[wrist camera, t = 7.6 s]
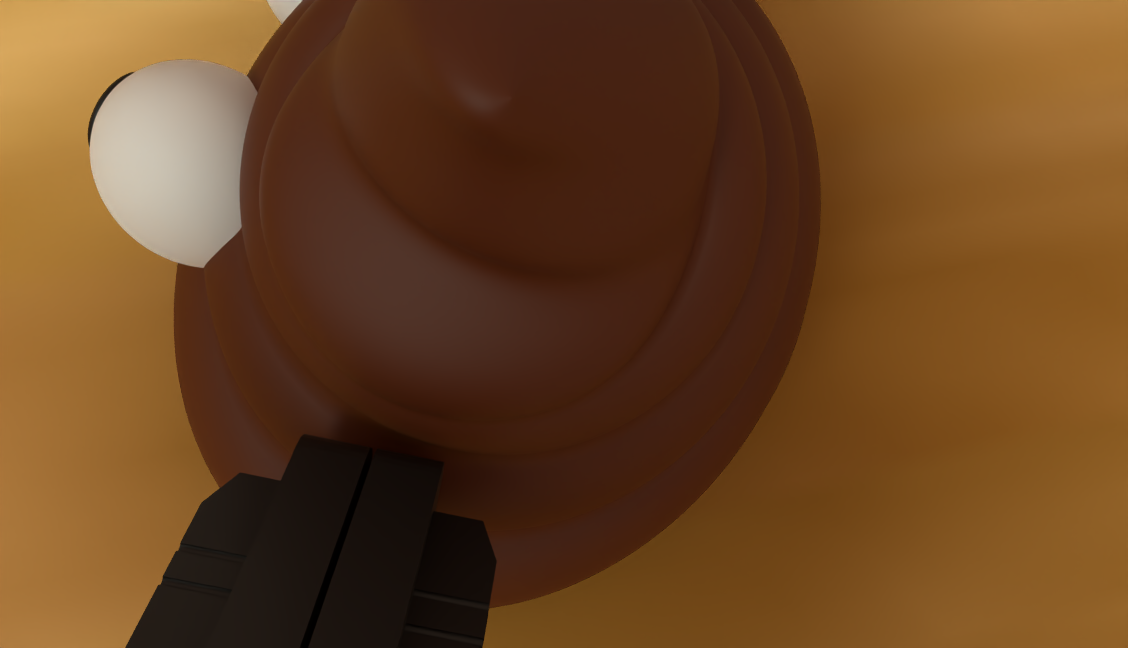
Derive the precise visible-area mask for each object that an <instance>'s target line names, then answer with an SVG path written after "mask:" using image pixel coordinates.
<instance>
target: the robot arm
mask: <svg viewBox="0 0 1128 648" xmlns="http://www.w3.org/2000/svg"><path fill="white" fill-rule="evenodd" d="M372 454H373V450H372V447H367V446H362V445H357V444H352V443H347V442H342V441H337V440H332V439H327V438H322V437H318V436H313V435H308V434H303V435H302V436H301V437H300V439H299V441H298V443H297V445H296V447H295V449H294V451H293V454H292V456H291V458H290V460H289V463H288V465H287V467H286V469H285V472H284V474H283V476H282V478H281V481H280V480H275V479H271V478H266V477H261V476H256V475H251V474H246V473H241V472H240V473H239V474H237V475H236V476H235V477H233V478H232V479H231V480H230V481H228V482H227V483H226V484H225V485H223V486H222V487H221V488H220V489H218V490H217V491H216V492H214V493H213V494H212V495H211V496H209V497H208V498H207V499H206V500H204V501H203V502H202V503H201V505H200V507H199V508H198V510H197V512H196V514H195V516H194V518H193V520H192V522H191V524H190V526H189V528H188V529H187V531H186V533H185V535H184V537H183V539H182V541H181V543H180V548H179V550H178V551H176V552H175V554H174V556H173V558H172V560H171V562H170V564H169V566H168V567H167V569H166V571H165V573H164V575H163V579H162V583H161V585H158V587H157V588H156V590H155V592H154V594H153V596H152V598H151V600H150V602H149V604H148V606H147V607H146V609H145V611H144V613H143V615H142V617H141V619H140V621H139V623H138V625H137V626H136V628H135V630H134V632H133V634H132V636H131V638H130V640H129V642H128V644H127V646H126V647H125V648H483V647H482V646H483V641H484V636H485V630H486V624H487V618H488V610H489V605H490V600H491V594H492V588H493V582H494V576H495V570H496V564H497V560H496V557H495V554H494V551H493V548H492V545H491V543H490V540H489V537H488V534H487V531H486V528H485V525H484V522H483V521H481V520H476V519H471V518H466V517H461V516H456V515H451V514H446V513H441V512H436V507H437V502H438V497H439V492H440V486H441V481H442V476H443V470H444V464H445V462H442V461H437V460H432V459H427V458H422V457H417V456H412V455H407V454H403V453H398V452H393V451H388V450H383V449H377V450H376V452H375V454H374V457H373V459H372Z"/></svg>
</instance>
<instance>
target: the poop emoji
mask: <svg viewBox="0 0 1128 648" xmlns="http://www.w3.org/2000/svg"><path fill="white" fill-rule="evenodd" d="M267 2H268V4H269V6H270V8H271V9H272V11H273V12H274V14H275V15H276V17H277V18H278V20H279V21H280V22H281V24H282V25H281V26H280V27H279V28H278V30H277V31H276V32H275V34H274V35H273V36H272V38H271V39H270V40H269V42H268V43H267V45H266V46H265V47H264V49H263V50H262V52H261V53H260V55H259V56H258V58H257V60H256V61H255V63H254V64H253V66H252V68H251V69H250V71H249V73H248V75H247V76H246V75H244V74H242V73H240V72H238V71H236V70H234V69H231V68H229V67H226V66H223V65H220V64H216V63H213V62H208V61H202V60H192V59H180V60H169V61H164V62H159V63H156V64H152V65H149V66H147V67H144V68H142V69H140V70H138V71H136V72H131V73H128V74H126V75H124V76H122V77H120V78H119V79H117V80H116V81H115V82H114V83H112V84H111V85H110V86H109V87H108V88H107V89H106V91H105V92H104V93H103V94H102V96H101V97H100V99H99V100H98V102H97V104H96V106H95V108H94V110H93V113H92V115H91V118H90V122H89V127H88V142H89V147H90V162H91V169H92V174H93V177H94V181H95V184H96V187H97V189H98V192H99V194H100V196H101V198H102V200H103V202H104V204H105V206H106V207H107V209H108V210H109V212H110V213H111V215H112V216H113V218H114V219H115V220H116V221H117V222H118V224H119V225H120V226H121V227H122V228H123V229H124V230H125V231H126V232H127V233H128V234H129V235H130V236H131V237H132V238H134V239H135V240H136V241H137V242H139V243H140V244H141V245H143V246H144V247H146V248H147V249H149V250H151V251H152V252H154V253H156V254H158V255H160V256H162V257H164V258H166V259H169V260H171V261H174V262H177V263H178V265H177V273H176V283H175V296H174V340H175V353H176V363H177V370H178V377H179V382H180V387H181V393H182V397H183V401H184V405H185V409H186V413H187V416H188V419H189V423H190V426H191V428H192V431H193V434H194V437H195V439H196V442H197V444H198V447H199V449H200V451H201V454H202V456H203V458H204V460H205V462H206V464H207V466H208V468H209V470H210V472H211V474H212V475H213V477H214V479H215V481H216V482H217V484H218V485H219V487H220V488H221V487H222V486H223V485H225V484H226V483H227V482H228V481H230V480H231V479H232V478H233V477H235V476H236V475H237V474H239V473H240V472H241V473H246V474H251V475H256V476H261V477H266V478H271V479H275V480H280V481H281V478H282V476H283V474H284V472H285V469H286V467H287V465H288V463H289V460H290V458H291V456H292V454H293V451H294V449H295V447H296V445H297V443H298V441H299V439H300V437H301V436H302V435H303V434H308V435H313V436H318V437H322V438H327V439H332V440H337V441H342V442H347V443H352V444H357V445H362V446H367V447H372V450H373V454H372V459H373V457H374V454H375V452H376V450H377V449H383V450H388V451H393V452H398V453H403V454H407V455H412V456H417V457H422V458H427V459H432V460H437V461H442V462H445V464H444V470H443V476H442V481H441V486H440V492H439V497H438V502H437V507H436V512H441V513H446V514H451V515H456V516H461V517H466V518H471V519H476V520H481V521H483V522H484V525H485V528H486V531H487V534H488V537H489V540H490V543H491V545H492V548H493V551H494V554H495V557H496V560H497V564H496V570H495V576H494V582H493V588H492V594H491V600H490V605H489V608H494V607H499V606H505V605H510V604H515V603H519V602H523V601H527V600H531V599H534V598H538V597H541V596H544V595H547V594H550V593H553V592H556V591H559V590H561V589H564V588H566V587H569V586H571V585H573V584H576V583H578V582H580V581H582V580H584V579H587V578H589V577H591V576H593V575H595V574H597V573H599V572H600V571H602V570H604V569H606V568H608V567H610V566H611V565H613V564H615V563H617V562H618V561H620V560H622V559H623V558H625V557H626V556H628V555H630V554H631V553H633V552H634V551H636V550H637V549H638V548H640V547H641V546H643V545H644V544H646V543H647V542H648V541H650V540H651V539H652V538H654V537H655V536H656V535H658V534H659V533H660V532H661V531H663V530H664V529H665V528H666V527H668V526H669V525H670V524H671V523H672V522H674V521H675V520H676V519H677V518H678V517H679V516H680V515H681V514H682V513H684V512H685V511H686V510H687V509H688V508H689V507H690V506H691V505H692V504H693V503H694V502H695V501H696V500H697V499H698V498H699V497H700V496H701V495H702V494H703V493H704V492H705V491H706V490H707V488H708V487H709V486H710V485H711V484H712V483H713V482H714V481H715V479H716V478H717V477H718V476H719V475H720V474H721V472H722V471H723V470H724V469H725V467H726V466H727V465H728V464H729V462H730V461H731V460H732V458H733V457H734V456H735V454H736V453H737V452H738V450H739V449H740V447H741V446H742V444H743V443H744V442H745V440H746V439H747V437H748V436H749V434H750V433H751V431H752V429H753V428H754V426H755V425H756V423H757V421H758V420H759V418H760V416H761V415H762V413H763V411H764V409H765V408H766V406H767V404H768V402H769V401H770V399H771V397H772V395H773V394H774V392H775V390H776V388H777V386H778V384H779V382H780V380H781V378H782V376H783V374H784V372H785V369H786V367H787V365H788V363H789V360H790V357H791V355H792V352H793V350H794V347H795V344H796V341H797V338H798V335H799V332H800V329H801V325H802V322H803V318H804V314H805V310H806V306H807V302H808V298H809V294H810V290H811V285H812V280H813V275H814V270H815V264H816V257H817V249H818V242H819V229H820V208H821V200H820V173H819V162H818V153H817V147H816V140H815V135H814V130H813V125H812V121H811V117H810V113H809V109H808V105H807V102H806V99H805V95H804V92H803V89H802V86H801V84H800V81H799V78H798V76H797V73H796V71H795V68H794V66H793V63H792V61H791V59H790V57H789V55H788V53H787V51H786V49H785V47H784V45H783V43H782V41H781V39H780V38H779V36H778V34H777V32H776V30H775V29H774V27H773V26H772V24H771V22H770V21H769V19H768V18H767V16H766V15H765V13H764V12H763V11H762V9H761V8H760V7H759V5H758V4H757V2H756V1H755V0H267Z"/></svg>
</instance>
